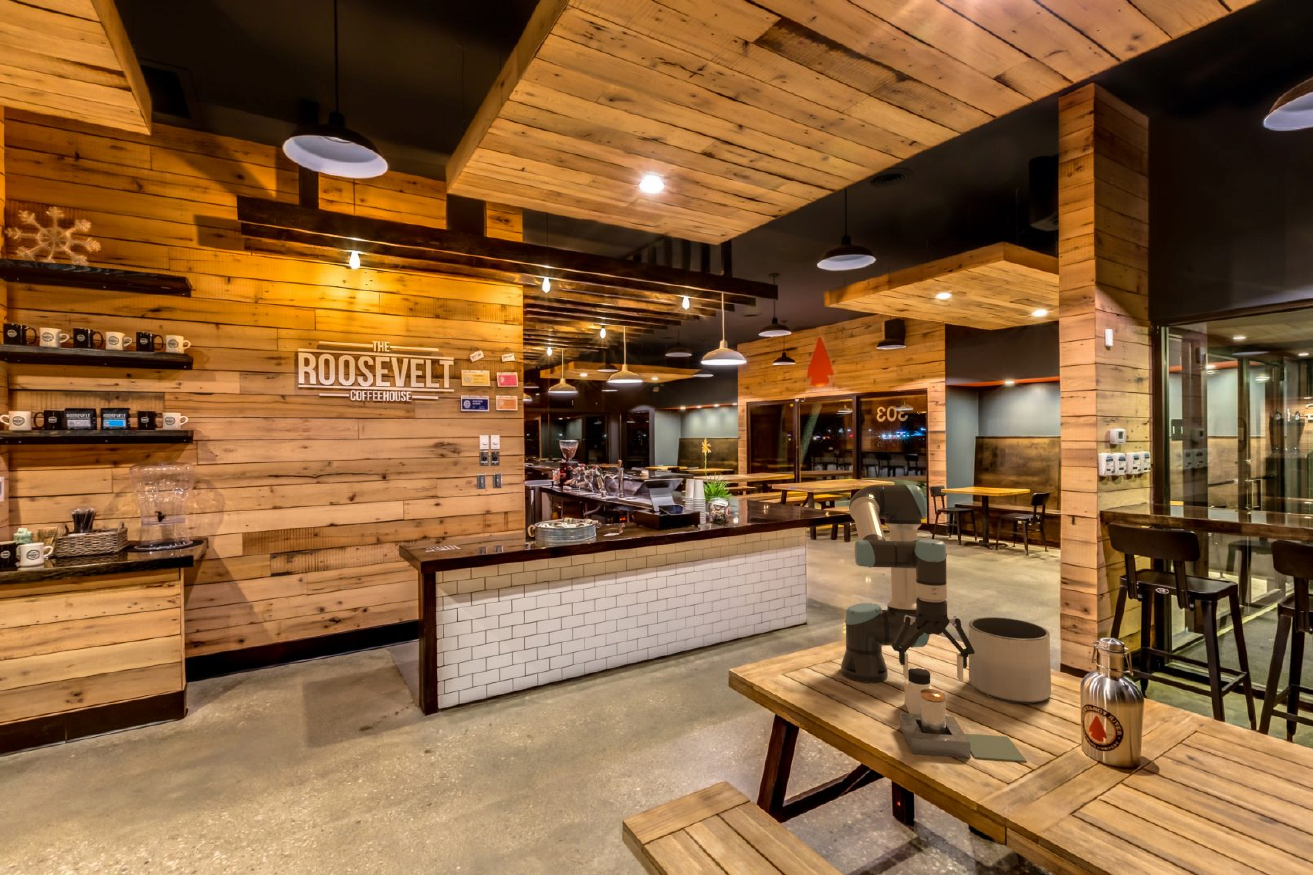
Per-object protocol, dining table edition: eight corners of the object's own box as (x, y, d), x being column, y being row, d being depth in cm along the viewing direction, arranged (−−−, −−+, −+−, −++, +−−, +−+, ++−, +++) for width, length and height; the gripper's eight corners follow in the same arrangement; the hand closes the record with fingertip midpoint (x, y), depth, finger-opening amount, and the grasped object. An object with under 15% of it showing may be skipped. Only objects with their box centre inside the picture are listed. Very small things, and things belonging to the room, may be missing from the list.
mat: (959, 734, 164) (959, 733, 164) (1007, 738, 162) (1007, 736, 162) (974, 758, 152) (974, 756, 152) (1026, 762, 150) (1026, 760, 150)
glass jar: (918, 735, 164) (918, 688, 164) (942, 737, 163) (941, 689, 163) (924, 747, 158) (923, 697, 158) (948, 748, 157) (948, 699, 157)
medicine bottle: (935, 716, 175) (934, 675, 174) (909, 714, 176) (908, 673, 176) (929, 705, 182) (928, 665, 181) (904, 703, 183) (903, 664, 183)
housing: (900, 727, 168) (899, 713, 168) (953, 730, 166) (953, 716, 166) (912, 753, 155) (911, 738, 155) (970, 758, 152) (970, 742, 152)
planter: (1005, 671, 205) (1004, 613, 205) (1069, 699, 184) (1068, 634, 184) (952, 681, 198) (952, 621, 198) (1013, 711, 177) (1012, 643, 176)
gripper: (884, 600, 158) (886, 681, 158) (987, 604, 154) (988, 686, 154) (879, 593, 166) (881, 670, 166) (977, 596, 161) (978, 675, 161)
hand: (932, 678), depth 160 cm, fingers open, 13 cm apart
